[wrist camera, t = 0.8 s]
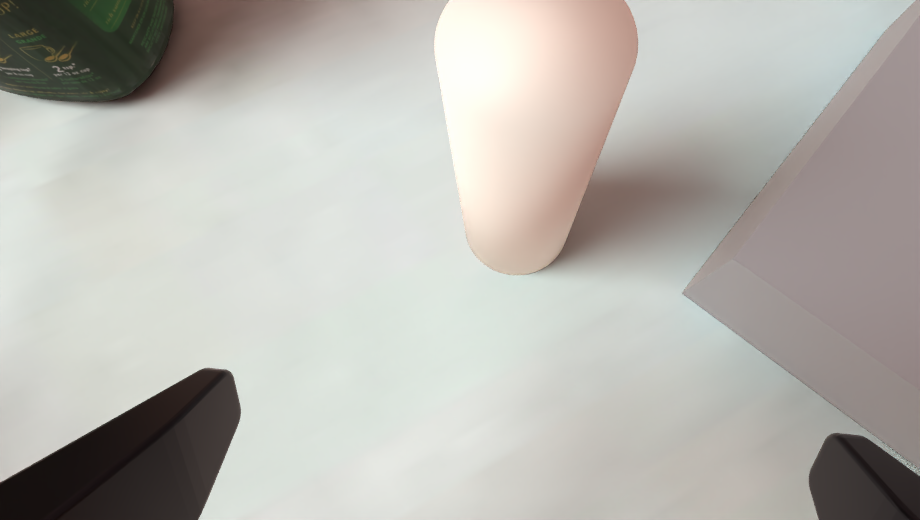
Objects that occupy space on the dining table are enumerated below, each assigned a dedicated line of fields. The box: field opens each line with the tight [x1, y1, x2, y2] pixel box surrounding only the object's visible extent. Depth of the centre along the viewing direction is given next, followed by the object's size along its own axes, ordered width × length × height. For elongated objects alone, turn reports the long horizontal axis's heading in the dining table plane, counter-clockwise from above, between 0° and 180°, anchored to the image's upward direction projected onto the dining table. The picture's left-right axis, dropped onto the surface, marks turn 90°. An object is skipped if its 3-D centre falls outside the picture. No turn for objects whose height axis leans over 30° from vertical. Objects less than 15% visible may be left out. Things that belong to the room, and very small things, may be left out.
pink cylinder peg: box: [434, 0, 638, 275], centre depth 18 cm, size 4×4×12 cm
